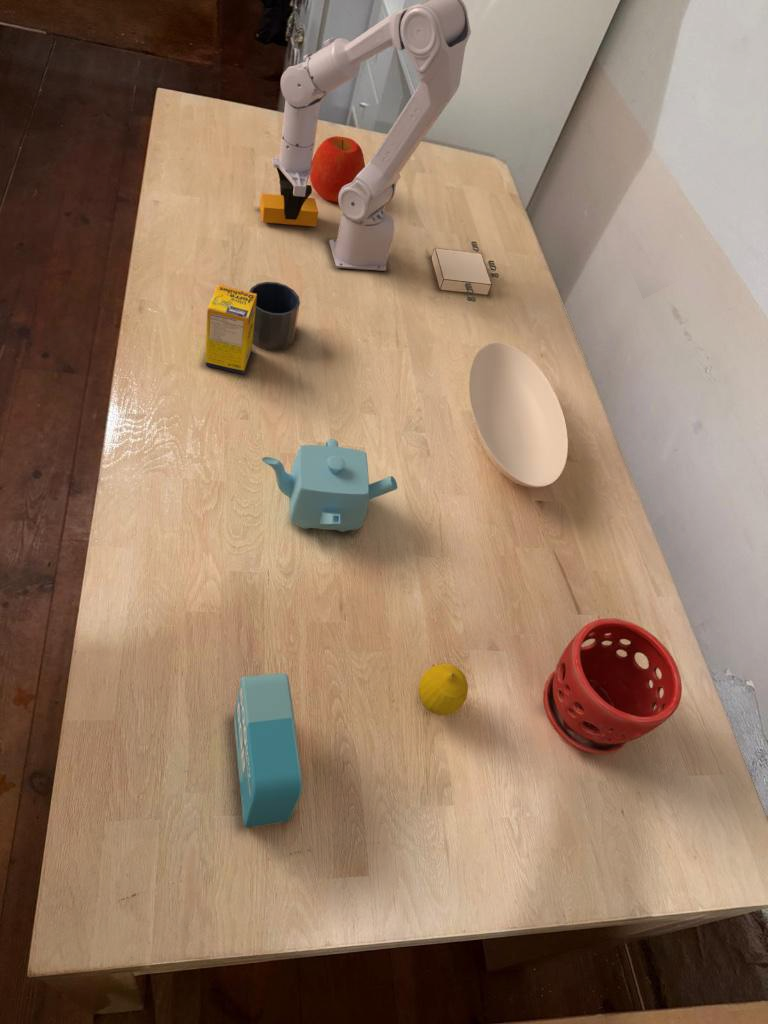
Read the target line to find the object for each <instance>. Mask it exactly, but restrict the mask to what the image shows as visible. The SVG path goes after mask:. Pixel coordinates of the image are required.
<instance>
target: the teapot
mask: <svg viewBox="0 0 768 1024" xmlns="http://www.w3.org/2000/svg"><path fill="white" fill-rule="evenodd" d="M261 460H262V462H263V463H265V464H266V465H268V466H269V467H271V468H272V470H273V471H274V473H275V479H276V484H277V487H278V489H279V490H280V492H281V493H282V494H283V495H285V496H286V497H288V505H289V506H288V507H289V519H290V523H291V524H292V525H294V526H298V527H300V528H302V529H304V530H308V529H311V528H312V529H321V530H332V531H335V530H336V531H339V532H347V531H355V530H359V529H361V527H362V526H363V525H364V523H365V520H366V516H367V512H368V507H369V501H370V500H374V499H375V498H378V497H380V496H383V495H386V494H388V493H391V492H393V491H396V490H398V482H397V480H396V478H395V477H394V476H393V475H391V476H388V477H386V478H382V479H380V480H377V481H375V482H372V483H370V482H369V481H370V479H369V467H368V466H369V464H368V456H367V452H366V451H364V450H361V449H356V448H350V447H341V446H339V442H338V441H337V440H336V439H332V438H330V439H327V440H326V442H325V445H322V444H321V445H319V444H303V445H300V447H299V448H298V451H297V453H296V455H295V457H294V459H293V463H292V466H291V470H290V473H288V472H287V471H286V470H285V466H284V464H283V462H281V460H279V459H277V458H274V457H270V456H264V457H262V458H261Z"/></svg>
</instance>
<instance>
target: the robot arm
mask: <svg viewBox="0 0 768 1024" xmlns="http://www.w3.org/2000/svg"><path fill="white" fill-rule="evenodd" d="M471 30H472V29H471V25H470V19H469V14H468V9H467V7H466V4H465V3H464V1H463V0H424V1H422V2H419V3H415V4H414V5H410V6H409V7H406V8H403V9H401V10H399V11H396V12H394V13H391V14H390V15H388V16H387V17H384V18H383V19H382V20H380V21H379V22H378V23H376V24H374V25H373V26H372V27H370V28H368V29H367V30H366V31H365V32H363V33H361V34H360V35H358V36H357V37H355V38H354V39H353V40H351V41H350V40H349V39H346V38H344V37H339V38H335V37H334V36H332V37H330V38H328V39H326V40H324V41H323V45H324V47H322V48H321V49H319V50H317V51H316V52H315V53H313V54H312V53H311V52H309V53H307V54H305V55H303V56H302V57H303V58H302V60H303V61H302V62H300V63H298V64H295V65H290V66H288V67H287V68H286V69H285V71H283V73H282V75H281V77H280V90H281V93H282V97H283V98H284V100H285V101H284V108H283V109H284V110H283V118H282V119H283V120H282V128H281V138H280V146H279V155H278V157H272V158H271V165H272V167H273V168H276V170H277V173H278V178H279V192H280V195H283V197H284V214H285V219H291V220H296V219H297V217H298V215H299V213H300V210H301V208H302V205H303V204H304V202H305V200H306V199H307V198H310V196H311V195H312V192H313V186H312V184H311V185H310V184H307V183H308V181H309V179H310V174H311V171H312V159H313V157H314V151H315V143H316V137H317V136H316V135H317V130H318V123H319V115H320V108H321V107H322V101H323V99H324V98H325V97H327V95H328V94H330V93H331V92H332V91H334V90H336V89H338V88H340V87H341V86H343V85H345V84H346V83H348V82H350V81H352V80H353V79H355V78H357V76H358V75H359V72H360V70H361V64H362V63H363V62H365V61H367V60H369V59H371V58H372V57H374V56H376V55H378V54H380V53H382V52H383V51H385V50H387V49H389V48H391V47H392V46H393V47H395V48H396V49H397V50H399V51H403V50H405V51H406V53H407V56H408V57H409V59H410V62H411V63H412V65H413V68H414V70H415V72H416V74H417V77H418V78H419V84H418V86H417V87H416V89H415V91H413V94H411V95H412V96H411V97H410V98H409V100H408V101H407V103H406V104H405V106H404V107H403V109H402V111H401V112H400V114H399V115H398V117H397V119H396V120H395V121H394V123H393V125H392V126H391V128H390V129H389V131H388V133H387V134H386V136H385V137H384V139H383V141H382V142H381V143H380V145H379V147H378V148H377V150H376V151H375V153H374V154H373V156H372V157H371V159H370V160H369V162H368V163H367V164H365V167H364V168H363V169H362V170H361V171H360V172H359V174H358V175H357V176H356V177H355V179H354V180H353V181H352V182H351V183H349V184H347V185H345V186H343V187H342V188H341V190H340V192H339V196H338V202H337V203H338V206H339V209H340V211H341V217H340V221H339V226H338V232H337V236H336V237H337V238H336V239H334V238H333V239H332V238H331V239H329V246H330V249H331V254H332V257H333V261H334V265H335V267H336V268H338V269H351V270H366V271H379V272H380V271H381V272H382V271H384V272H385V271H387V262H388V259H389V256H390V255H389V254H390V251H391V247H392V244H393V239H394V233H395V222H394V217H393V215H392V214H391V213H389V212H385V208H386V204H388V203H390V202H391V201H392V200H393V198H394V196H395V193H396V187H397V183H398V182H399V180H400V179H401V174H400V173H402V171H403V169H404V167H405V166H406V164H407V163H408V162H409V160H410V158H411V157H412V156H413V154H414V153H415V151H417V149H418V147H420V144H421V143H422V142H423V140H424V139H425V137H426V136H427V134H428V133H429V132H430V130H431V129H432V127H433V126H434V124H435V123H436V121H438V119H439V117H440V116H441V115H442V113H443V112H444V110H445V109H446V107H447V106H448V104H449V103H450V101H451V100H452V99H453V97H454V96H455V94H456V93H457V92H458V90H459V87H460V83H461V77H462V70H463V64H464V58H465V51H466V47H467V44H468V42H469V39H470V36H471V33H472V31H471Z"/></svg>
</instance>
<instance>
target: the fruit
mask: <svg viewBox="0 0 768 1024" xmlns="http://www.w3.org/2000/svg"><path fill="white" fill-rule="evenodd" d="M468 691H469V684H468V681H467V677H466V675H465V674H464V672H463V671H462V670H461V669H460V668H459V667H457V666H455V665H453V664H451V663H439V664H436V665H433V666H431V667H430V668H428V669H427V670H426V671H425V672H424V673H423V674H422V676H421V678H420V681H419V684H418V698H419V700H420V702H421V704H422V706H423V707H424V708H425V709H426V710H427V711H429V713H432V714H433V715H434V714H435V715H436V716H449V715H452V714H454V713H457V712H458V711H459V710H460V709H461V708H462V707H463V706H464V704H465V702H466V700H467V698H468V693H469V692H468Z"/></svg>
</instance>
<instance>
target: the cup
mask: <svg viewBox="0 0 768 1024" xmlns="http://www.w3.org/2000/svg"><path fill="white" fill-rule="evenodd" d="M249 289H250V290H249V291H248V292H251V293H255V294H257V299H256V311H255V321H254V332H253V342H252V345H255V346H256V347H259V348H261V349H265V350H270V351H278V350H283V349H285V348H287V347H289V346H291V344H292V343H293V342H294V339H295V335H296V329H297V324H298V318H299V311H300V305H301V301H300V297H299V295H298V294H297V292H296V291H295V290H294V289H293V288H291V287H290V286H288V285H286V284H284V283H280V282H276V281H264V282H260V283H256V284H255V285H253V286H251V288H249Z"/></svg>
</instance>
